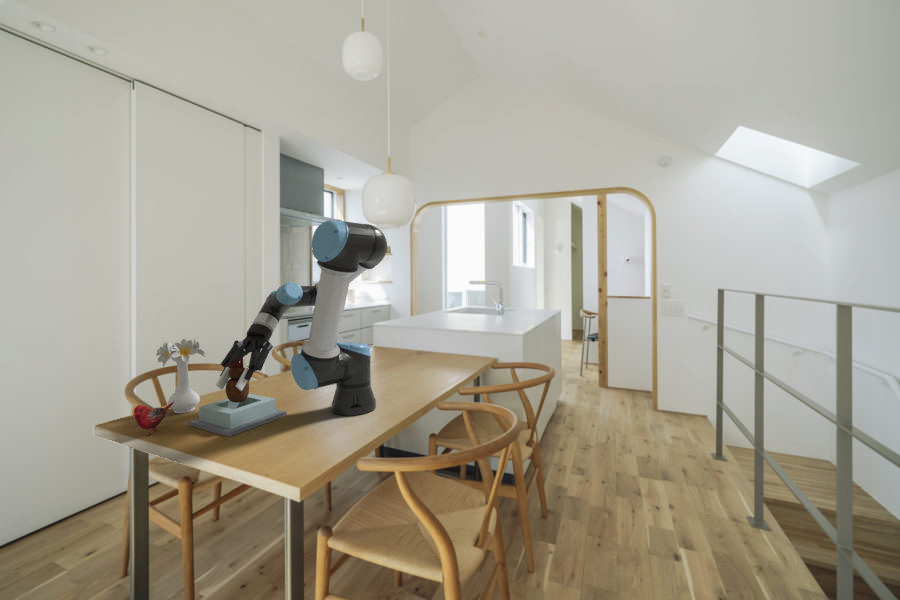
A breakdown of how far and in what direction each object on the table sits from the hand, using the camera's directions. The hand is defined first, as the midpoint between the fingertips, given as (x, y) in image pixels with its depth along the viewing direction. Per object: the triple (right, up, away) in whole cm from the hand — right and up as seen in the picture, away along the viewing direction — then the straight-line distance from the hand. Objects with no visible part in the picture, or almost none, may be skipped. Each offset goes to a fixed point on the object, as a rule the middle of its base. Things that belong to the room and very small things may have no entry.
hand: (229, 387), depth 123 cm
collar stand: (+1, -11, +4) cm, 12 cm away
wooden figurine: (+1, -5, +4) cm, 7 cm away
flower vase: (-23, -11, +13) cm, 29 cm away
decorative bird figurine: (-19, -12, -5) cm, 23 cm away
